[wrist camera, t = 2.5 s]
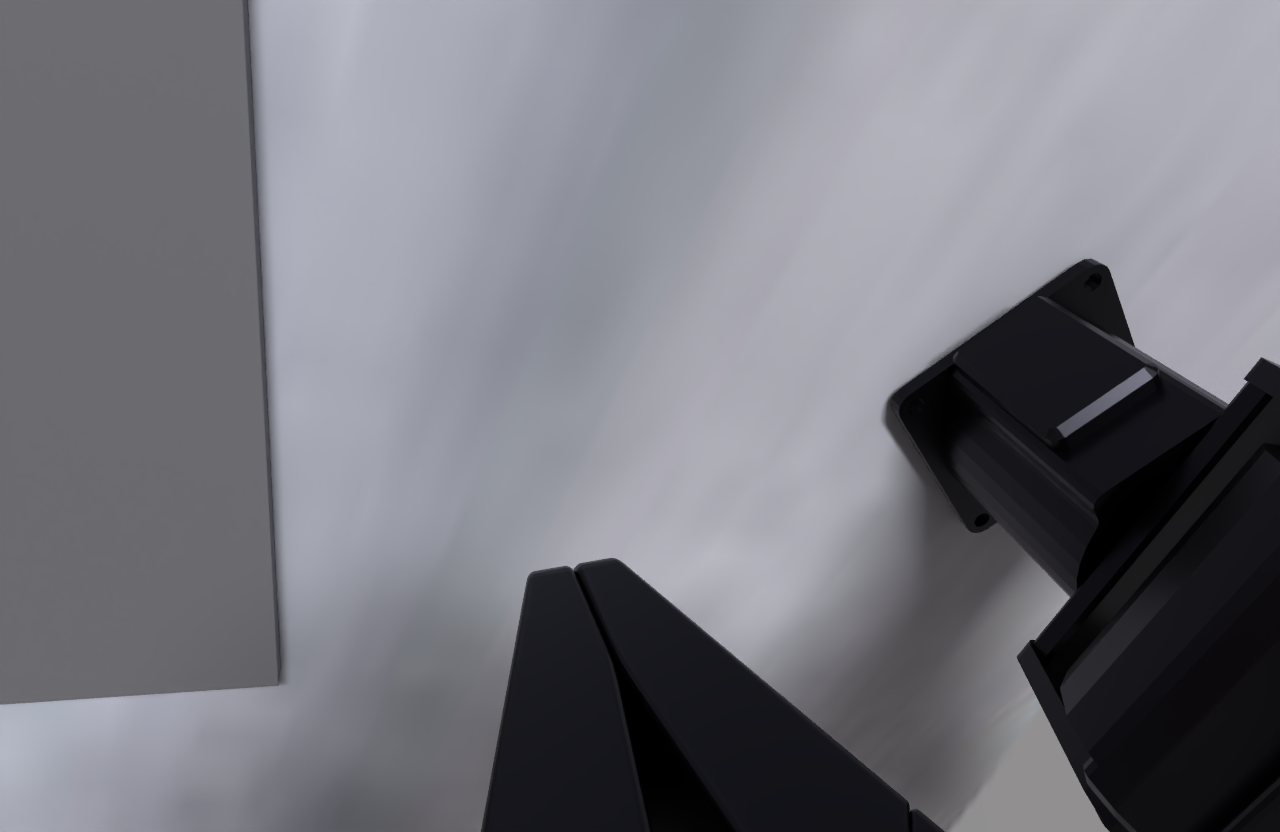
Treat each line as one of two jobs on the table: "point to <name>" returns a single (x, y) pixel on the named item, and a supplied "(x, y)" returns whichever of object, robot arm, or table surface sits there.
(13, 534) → the mat
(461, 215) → the table surface
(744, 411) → the table surface
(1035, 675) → the robot arm
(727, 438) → the table surface
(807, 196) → the table surface
